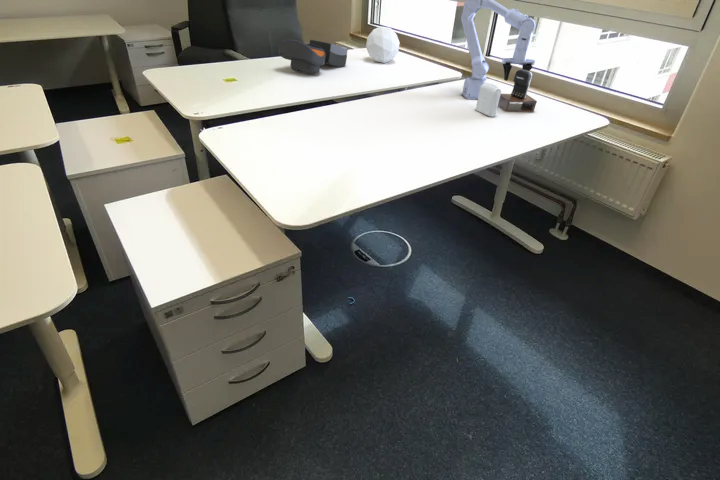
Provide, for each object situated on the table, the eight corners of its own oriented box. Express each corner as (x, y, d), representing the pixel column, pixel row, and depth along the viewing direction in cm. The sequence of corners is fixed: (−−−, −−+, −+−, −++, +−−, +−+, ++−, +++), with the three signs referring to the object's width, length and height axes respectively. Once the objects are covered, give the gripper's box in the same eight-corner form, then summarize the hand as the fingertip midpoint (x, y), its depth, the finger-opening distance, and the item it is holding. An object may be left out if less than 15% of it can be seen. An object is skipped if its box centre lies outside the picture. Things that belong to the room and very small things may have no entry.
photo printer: (473, 109, 191) (480, 81, 183) (481, 109, 192) (488, 80, 185) (489, 117, 183) (496, 87, 176) (496, 116, 185) (504, 87, 178)
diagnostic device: (313, 38, 205) (277, 31, 214) (307, 74, 211) (273, 66, 220) (354, 49, 237) (321, 42, 246) (348, 81, 243) (316, 73, 252)
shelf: (505, 111, 192) (508, 100, 189) (496, 104, 200) (499, 93, 197) (533, 112, 194) (536, 101, 191) (523, 105, 202) (526, 94, 199)
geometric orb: (387, 75, 259) (402, 51, 241) (357, 60, 254) (370, 35, 237) (394, 53, 267) (408, 29, 249) (364, 38, 262) (377, 12, 245)
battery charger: (508, 95, 195) (515, 69, 189) (513, 94, 197) (520, 68, 191) (521, 99, 191) (528, 73, 184) (526, 98, 193) (533, 72, 186)
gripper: (533, 47, 194) (524, 78, 201) (502, 46, 192) (495, 77, 200) (540, 51, 188) (531, 83, 196) (509, 49, 186) (501, 81, 194)
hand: (513, 80), depth 197 cm, fingers open, 7 cm apart
